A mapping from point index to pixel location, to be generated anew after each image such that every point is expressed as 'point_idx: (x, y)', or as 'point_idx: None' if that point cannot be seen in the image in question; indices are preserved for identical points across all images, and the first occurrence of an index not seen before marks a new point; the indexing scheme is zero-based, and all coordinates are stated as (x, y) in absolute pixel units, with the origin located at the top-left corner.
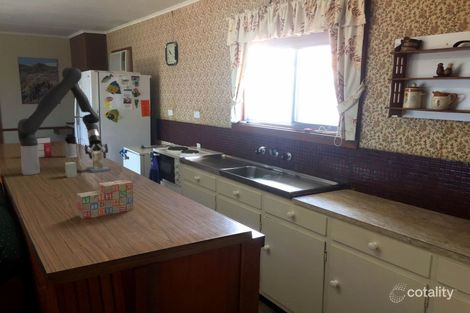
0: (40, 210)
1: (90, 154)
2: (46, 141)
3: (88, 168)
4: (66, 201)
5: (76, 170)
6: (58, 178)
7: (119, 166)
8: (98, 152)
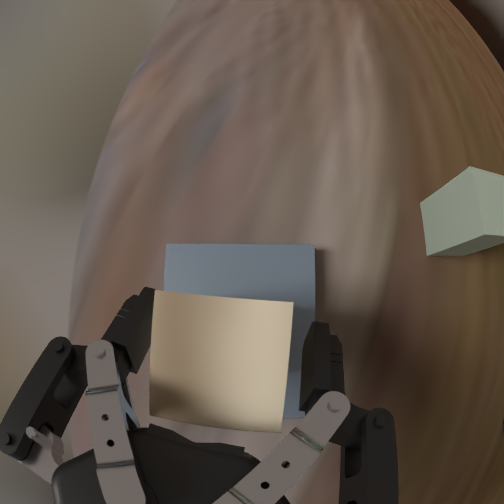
0: (445, 6)
1: (328, 370)
2: None
3: None
4: (417, 2)
5: (440, 189)
6: None
7: None
8: (204, 344)
